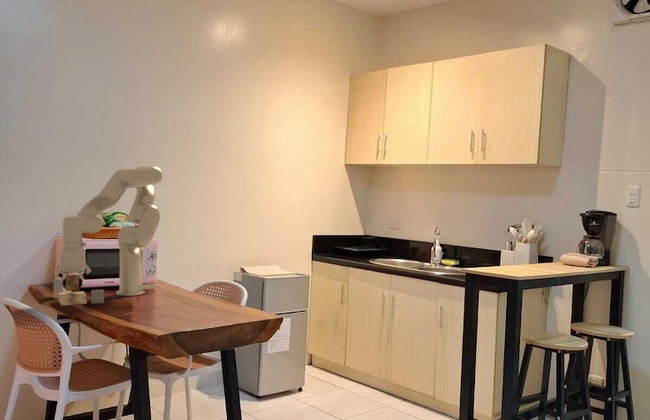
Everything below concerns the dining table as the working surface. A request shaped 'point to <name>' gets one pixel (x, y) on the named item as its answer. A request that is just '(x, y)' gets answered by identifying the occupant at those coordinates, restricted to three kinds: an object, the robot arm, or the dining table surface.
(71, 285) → the walnut block
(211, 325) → the dining table surface
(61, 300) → the birch block
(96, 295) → the slate block
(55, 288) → the medicine box
